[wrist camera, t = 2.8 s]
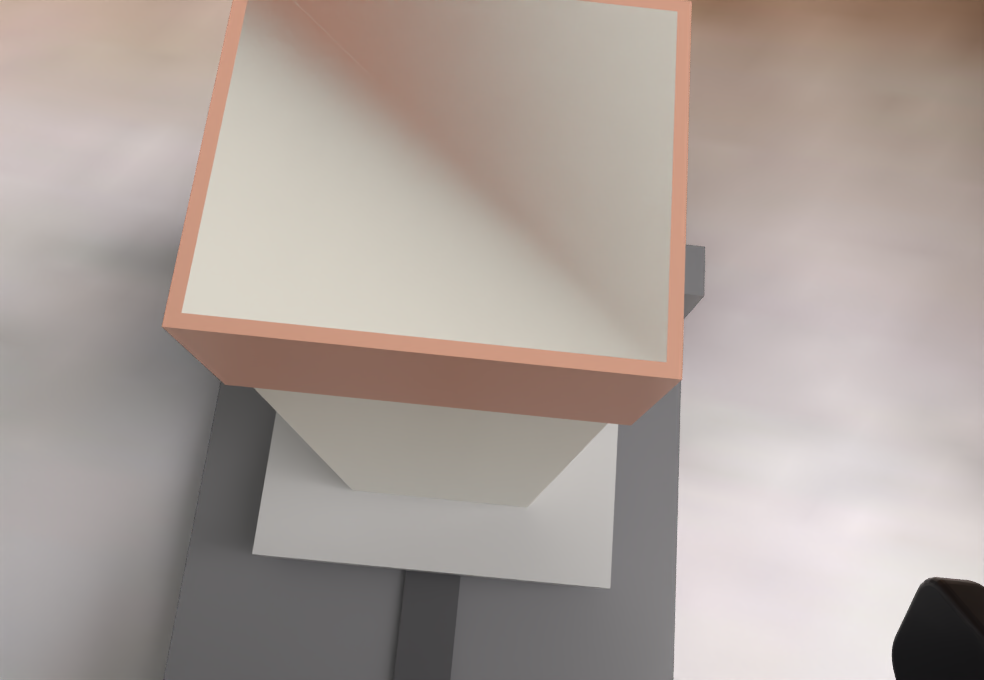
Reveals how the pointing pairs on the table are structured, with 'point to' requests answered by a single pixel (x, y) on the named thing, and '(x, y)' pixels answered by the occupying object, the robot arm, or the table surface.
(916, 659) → the robot arm
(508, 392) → the lever
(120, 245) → the table surface
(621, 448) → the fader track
